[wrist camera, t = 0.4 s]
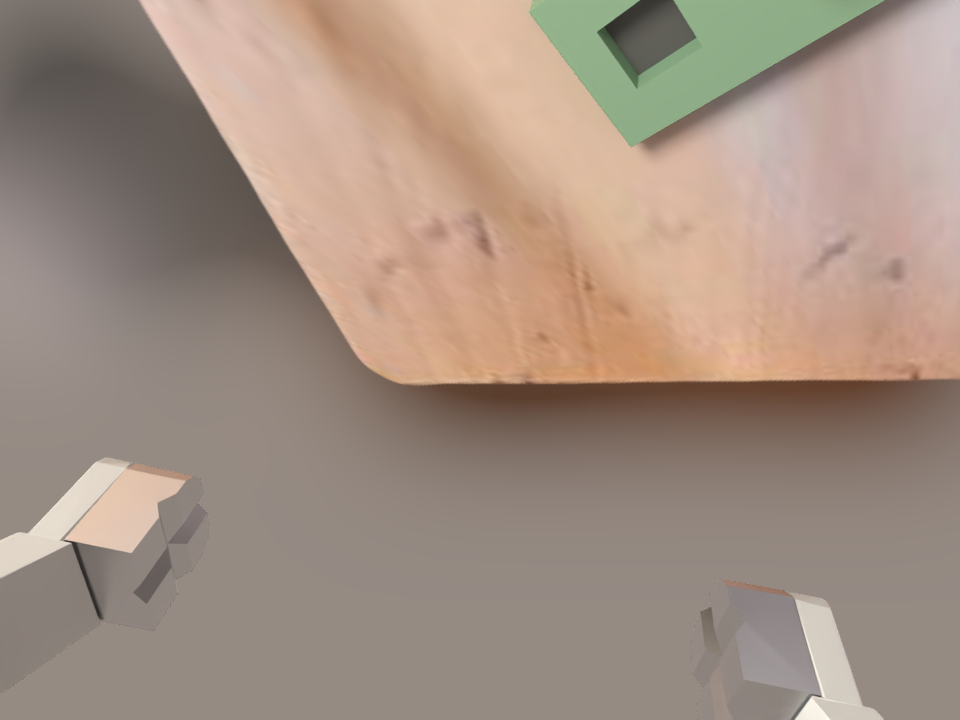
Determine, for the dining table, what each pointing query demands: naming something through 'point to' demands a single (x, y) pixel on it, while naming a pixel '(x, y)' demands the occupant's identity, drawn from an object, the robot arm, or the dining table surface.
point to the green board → (679, 49)
